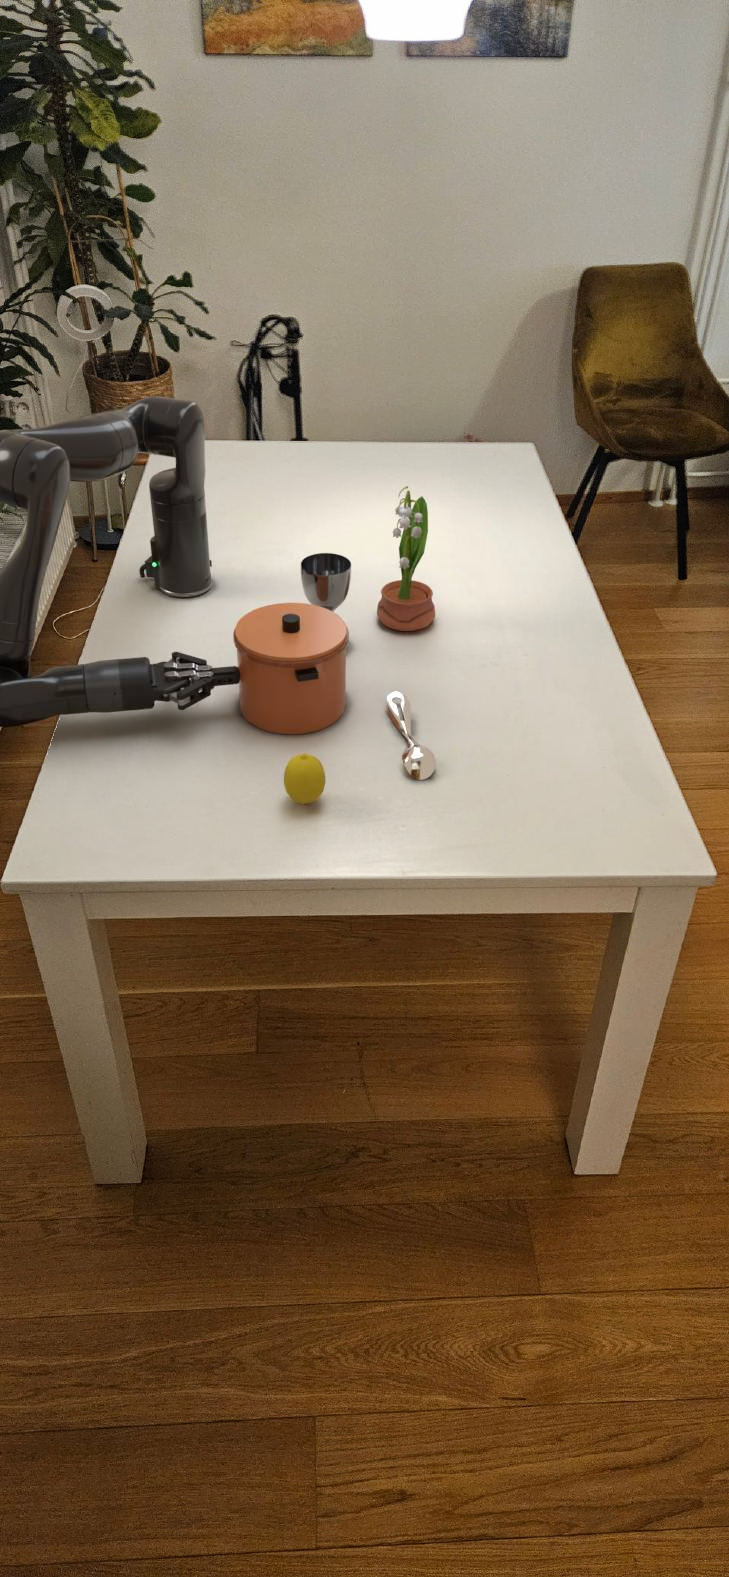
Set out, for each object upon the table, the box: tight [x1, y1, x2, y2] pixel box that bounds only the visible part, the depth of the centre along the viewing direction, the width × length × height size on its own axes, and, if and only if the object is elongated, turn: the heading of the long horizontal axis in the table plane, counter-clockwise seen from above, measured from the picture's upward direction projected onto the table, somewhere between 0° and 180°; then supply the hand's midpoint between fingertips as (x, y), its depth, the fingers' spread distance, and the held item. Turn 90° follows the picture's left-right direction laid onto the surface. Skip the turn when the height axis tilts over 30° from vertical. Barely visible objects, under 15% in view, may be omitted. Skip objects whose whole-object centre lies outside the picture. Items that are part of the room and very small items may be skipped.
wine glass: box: [300, 552, 352, 653], centre depth 176 cm, size 8×8×15 cm
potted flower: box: [376, 485, 436, 632], centre depth 180 cm, size 12×10×25 cm
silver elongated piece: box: [385, 691, 437, 781], centre depth 159 cm, size 20×4×5 cm
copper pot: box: [232, 602, 350, 735], centre depth 163 cm, size 17×19×15 cm
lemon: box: [283, 753, 326, 805], centre depth 146 cm, size 6×6×8 cm
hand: (238, 674), depth 161 cm, fingers closed
